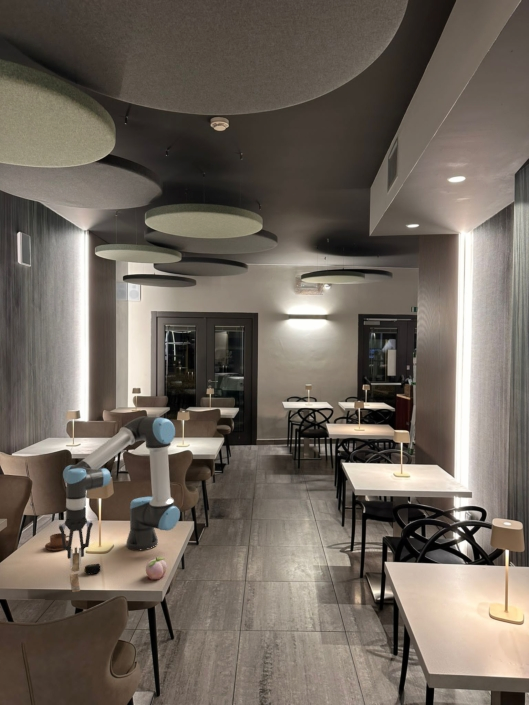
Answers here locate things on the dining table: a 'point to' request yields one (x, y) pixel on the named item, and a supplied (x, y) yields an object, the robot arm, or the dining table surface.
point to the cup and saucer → (56, 542)
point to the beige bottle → (75, 561)
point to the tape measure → (92, 568)
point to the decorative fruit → (156, 568)
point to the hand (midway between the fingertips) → (75, 565)
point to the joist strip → (75, 582)
